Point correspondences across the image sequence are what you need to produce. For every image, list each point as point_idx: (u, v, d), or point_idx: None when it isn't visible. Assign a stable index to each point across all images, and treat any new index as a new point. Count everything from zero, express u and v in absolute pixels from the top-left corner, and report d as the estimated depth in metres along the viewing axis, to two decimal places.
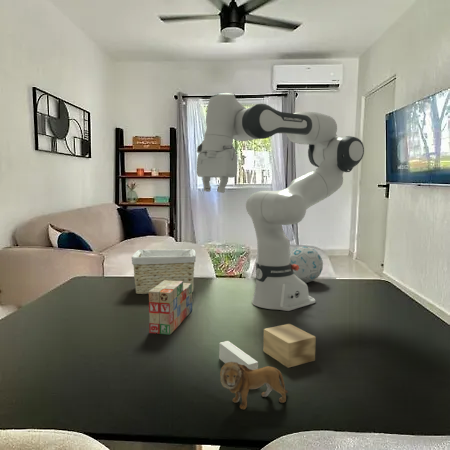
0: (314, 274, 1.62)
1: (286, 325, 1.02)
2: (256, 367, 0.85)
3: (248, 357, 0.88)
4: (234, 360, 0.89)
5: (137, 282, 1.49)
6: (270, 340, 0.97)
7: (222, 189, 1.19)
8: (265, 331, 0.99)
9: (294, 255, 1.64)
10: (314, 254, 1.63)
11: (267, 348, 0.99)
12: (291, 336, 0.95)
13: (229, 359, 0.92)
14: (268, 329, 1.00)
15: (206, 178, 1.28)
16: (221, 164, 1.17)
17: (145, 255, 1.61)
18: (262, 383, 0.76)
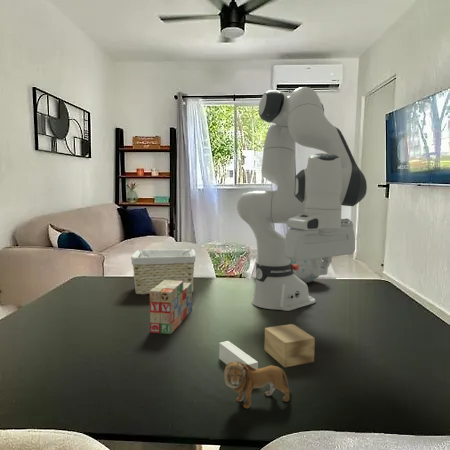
0: None
1: (289, 325, 1.02)
2: (256, 367, 0.85)
3: (248, 357, 0.88)
4: (234, 360, 0.89)
5: (137, 282, 1.48)
6: (270, 339, 0.98)
7: None
8: (266, 330, 1.00)
9: None
10: None
11: (267, 347, 1.00)
12: (290, 336, 0.95)
13: (229, 359, 0.92)
14: (269, 328, 1.00)
15: None
16: (346, 242, 1.01)
17: (144, 255, 1.61)
18: (266, 382, 0.77)
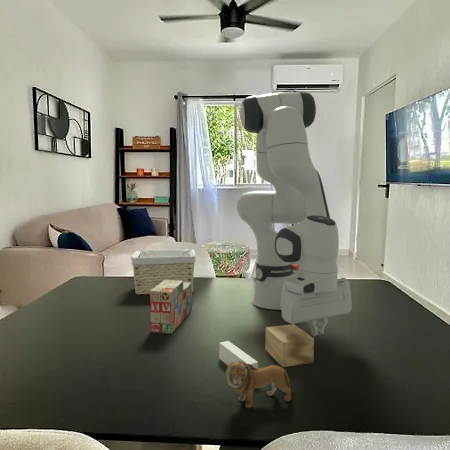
0: None
1: (290, 325, 1.02)
2: (256, 367, 0.85)
3: (248, 357, 0.88)
4: (234, 360, 0.89)
5: (137, 282, 1.48)
6: (270, 339, 0.98)
7: None
8: (266, 329, 1.00)
9: None
10: None
11: (267, 346, 1.00)
12: (289, 336, 0.95)
13: (229, 359, 0.92)
14: (270, 327, 1.01)
15: None
16: (343, 301, 1.03)
17: (144, 255, 1.61)
18: (268, 382, 0.77)
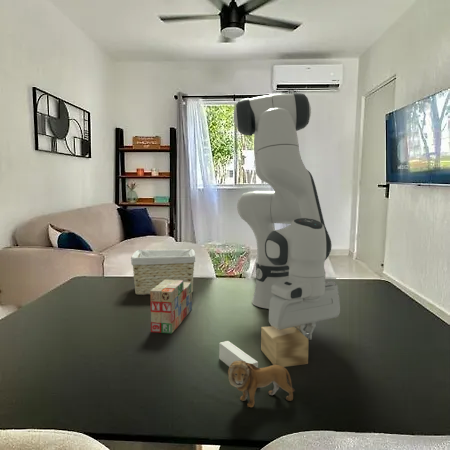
0: None
1: None
2: None
3: (248, 357, 0.88)
4: (234, 360, 0.89)
5: (136, 283, 1.48)
6: (265, 338, 0.98)
7: None
8: (262, 329, 1.00)
9: None
10: None
11: (263, 346, 1.00)
12: (284, 336, 0.94)
13: (229, 359, 0.92)
14: (266, 327, 1.00)
15: None
16: (331, 306, 1.01)
17: (144, 255, 1.60)
18: (269, 381, 0.77)
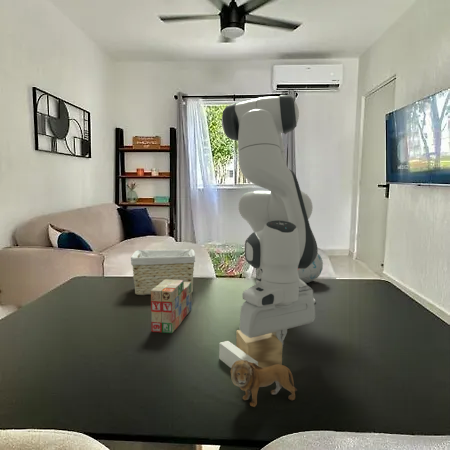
0: (314, 274, 1.62)
1: None
2: None
3: (248, 357, 0.88)
4: (234, 360, 0.89)
5: (136, 283, 1.48)
6: (239, 342, 0.96)
7: None
8: (237, 332, 0.98)
9: None
10: None
11: None
12: (257, 340, 0.92)
13: (229, 359, 0.92)
14: None
15: None
16: (305, 311, 0.97)
17: (144, 255, 1.60)
18: (272, 381, 0.77)
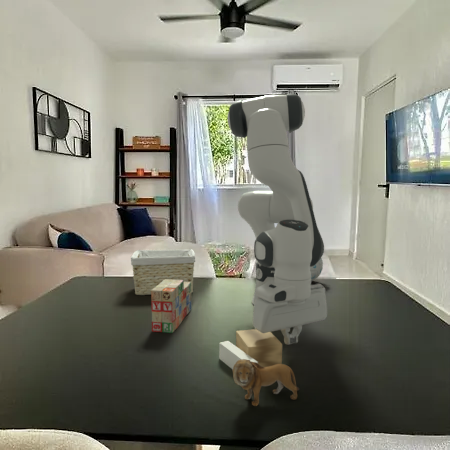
0: (314, 274, 1.62)
1: None
2: None
3: (248, 357, 0.88)
4: (234, 360, 0.89)
5: (136, 283, 1.47)
6: (239, 343, 0.96)
7: None
8: (237, 333, 0.98)
9: None
10: None
11: None
12: (257, 341, 0.92)
13: (229, 359, 0.92)
14: (241, 331, 0.98)
15: None
16: (317, 308, 0.99)
17: (143, 256, 1.60)
18: (274, 380, 0.77)
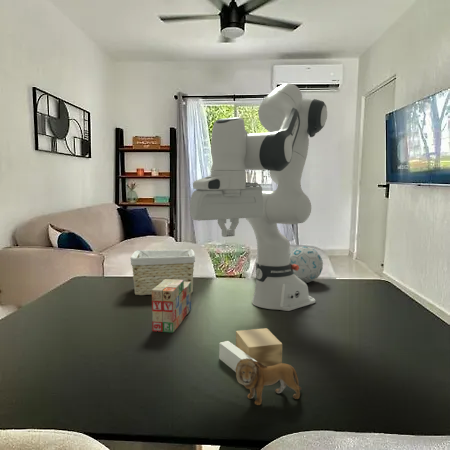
0: (314, 274, 1.62)
1: (262, 329, 0.99)
2: None
3: (248, 357, 0.88)
4: (234, 360, 0.89)
5: (136, 283, 1.47)
6: (239, 343, 0.96)
7: None
8: (236, 333, 0.98)
9: (294, 255, 1.64)
10: (314, 254, 1.63)
11: None
12: (257, 341, 0.92)
13: (229, 359, 0.92)
14: (240, 331, 0.98)
15: None
16: (254, 204, 1.04)
17: (143, 256, 1.60)
18: (277, 379, 0.78)
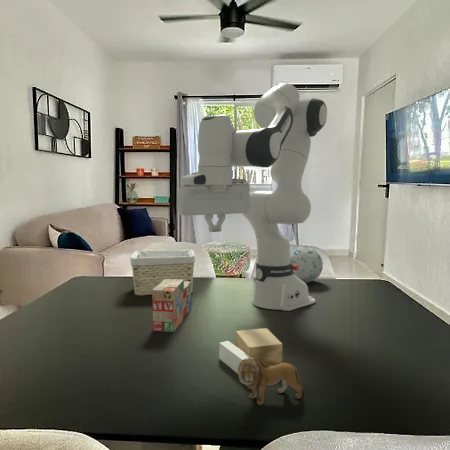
0: (314, 274, 1.62)
1: (262, 329, 0.99)
2: None
3: (248, 357, 0.88)
4: (234, 360, 0.89)
5: (136, 283, 1.47)
6: (239, 343, 0.96)
7: None
8: (236, 333, 0.98)
9: (294, 255, 1.64)
10: (314, 254, 1.63)
11: None
12: (257, 341, 0.92)
13: (229, 359, 0.92)
14: (240, 331, 0.98)
15: None
16: (240, 200, 1.06)
17: (143, 256, 1.59)
18: (279, 379, 0.78)
